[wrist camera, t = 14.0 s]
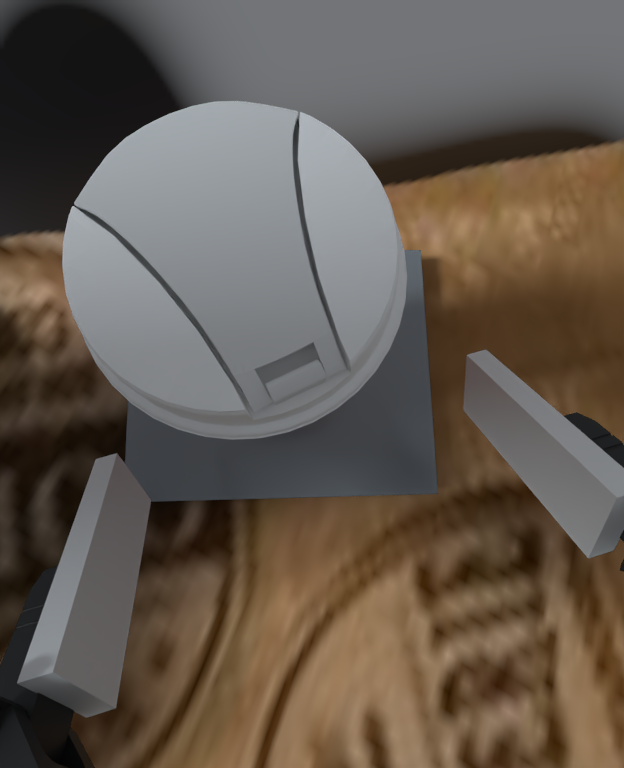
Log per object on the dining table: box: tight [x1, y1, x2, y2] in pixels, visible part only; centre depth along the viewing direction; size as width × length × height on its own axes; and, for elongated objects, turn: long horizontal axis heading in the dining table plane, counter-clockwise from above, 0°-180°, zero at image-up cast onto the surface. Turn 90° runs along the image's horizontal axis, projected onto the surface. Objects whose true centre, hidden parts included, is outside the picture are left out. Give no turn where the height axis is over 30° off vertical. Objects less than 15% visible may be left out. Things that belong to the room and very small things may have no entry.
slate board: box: [125, 250, 438, 502], centre depth 24 cm, size 18×15×2 cm
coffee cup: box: [62, 101, 407, 440], centre depth 16 cm, size 8×8×15 cm
